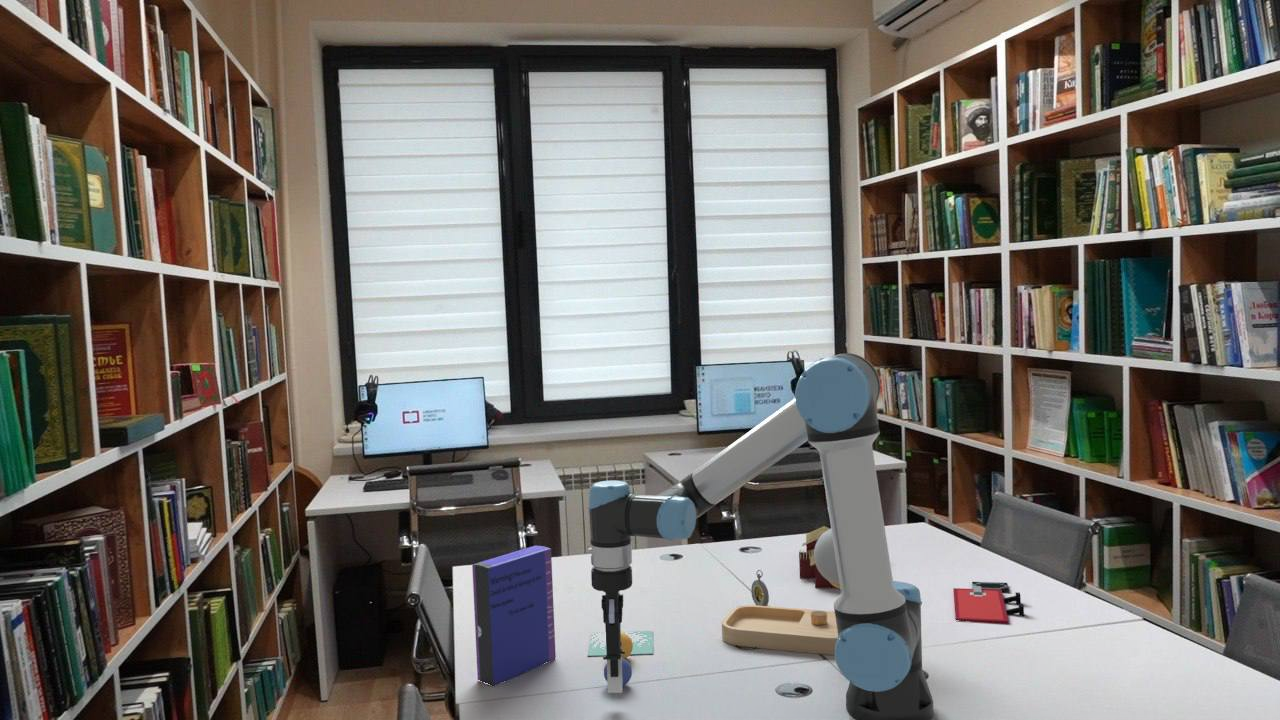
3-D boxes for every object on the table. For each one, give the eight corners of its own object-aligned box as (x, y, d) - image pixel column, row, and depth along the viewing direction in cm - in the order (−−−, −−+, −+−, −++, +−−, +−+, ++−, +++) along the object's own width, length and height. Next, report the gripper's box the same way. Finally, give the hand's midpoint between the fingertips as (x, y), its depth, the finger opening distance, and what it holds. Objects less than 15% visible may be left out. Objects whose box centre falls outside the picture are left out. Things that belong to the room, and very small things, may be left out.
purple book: (539, 654, 199) (535, 544, 198) (555, 659, 196) (550, 547, 195) (477, 681, 185) (472, 563, 184) (493, 686, 182) (488, 567, 181)
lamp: (716, 644, 201) (712, 530, 200) (736, 619, 217) (733, 512, 216) (871, 659, 189) (868, 538, 188) (880, 631, 205) (878, 519, 204)
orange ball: (633, 663, 192) (632, 637, 191) (606, 664, 192) (605, 638, 191) (633, 653, 197) (632, 628, 197) (607, 654, 197) (606, 629, 197)
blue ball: (632, 691, 178) (631, 663, 177) (603, 692, 178) (602, 664, 177) (632, 679, 183) (631, 652, 183) (604, 680, 183) (603, 653, 183)
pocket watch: (729, 616, 219) (727, 574, 219) (744, 605, 226) (743, 565, 226) (760, 621, 215) (759, 578, 214) (775, 610, 222) (774, 569, 221)
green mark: (653, 654, 196) (653, 653, 196) (587, 656, 196) (587, 655, 196) (652, 631, 210) (652, 630, 210) (591, 633, 210) (591, 632, 210)
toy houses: (801, 554, 273) (800, 520, 272) (872, 555, 269) (871, 520, 268) (798, 602, 229) (797, 562, 228) (884, 604, 225) (883, 563, 224)
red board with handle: (1015, 586, 234) (952, 584, 239) (1014, 575, 234) (952, 573, 238) (1026, 628, 206) (955, 624, 210) (1026, 615, 205) (955, 612, 210)
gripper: (593, 556, 176) (596, 677, 177) (588, 576, 163) (593, 706, 164) (632, 555, 176) (635, 676, 177) (631, 575, 163) (635, 705, 164)
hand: (615, 691), depth 171 cm, fingers closed
